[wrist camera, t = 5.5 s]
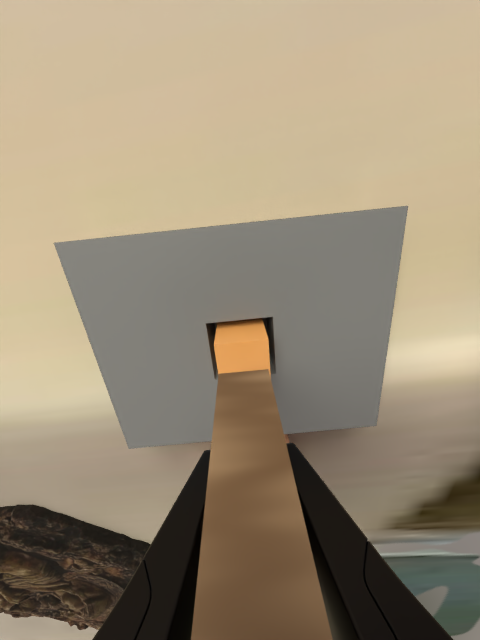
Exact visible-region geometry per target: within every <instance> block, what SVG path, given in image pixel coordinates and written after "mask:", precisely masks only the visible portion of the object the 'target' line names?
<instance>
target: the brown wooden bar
mask: <svg viewBox="0 0 480 640" xmlns="http://www.w3.org/2000/svg"><path fill="white" fill-rule="evenodd" d="M191 640H333V639H332V635H331V630H330V626H329V622H328V618H327V614H326V609H325V605H324V601H323V597H322V593H321V588H320V584H319V580H318V576H317V571H316V567H315V563H314V559H313V555H312V550H311V546H310V542H309V538H308V534H307V529H306V525H305V521H304V517H303V512H302V508H301V504H300V500H299V496H298V491H297V487H296V483H295V479H294V475H293V470H292V466H291V462H290V458H289V454H288V449H287V445H286V441H285V437H284V432H283V428H282V424H281V420H280V416H279V411H278V407H277V403H276V399H275V395H274V390H273V386H272V382H271V378H270V373H269V369H265V370H254V371H243V372H232V373H221V374H219V375H218V384H217V394H216V404H215V413H214V423H213V433H212V442H211V452H210V461H209V471H208V481H207V490H206V500H205V510H204V519H203V529H202V538H201V548H200V558H199V567H198V577H197V587H196V596H195V606H194V615H193V625H192V635H191Z"/></svg>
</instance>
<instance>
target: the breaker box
mask: <svg viewBox="0 0 480 640" xmlns="http://www.w3.org/2000/svg"><path fill="white" fill-rule="evenodd" d="M407 210H408V206H401V207H392V208H382V209H373V210H363V211H353V212H344V213H334V214H325V215H315V216H306V217H296V218H287V219H277V220H268V221H258V222H249V223H239V224H230V225H220V226H210V227H201V228H191V229H182V230H172V231H163V232H153V233H144V234H134V235H125V236H115V237H106V238H96V239H87V240H77V241H68V242H58V243H54V245H55V248H56V250H57V253H58V256H59V259H60V261H61V264H62V267H63V270H64V272H65V275H66V278H67V281H68V283H69V286H70V289H71V292H72V294H73V297H74V300H75V302H76V305H77V308H78V311H79V313H80V316H81V319H82V322H83V324H84V327H85V330H86V333H87V335H88V338H89V341H90V344H91V346H92V349H93V352H94V355H95V357H96V360H97V363H98V366H99V368H100V371H101V374H102V377H103V379H104V382H105V385H106V387H107V390H108V393H109V396H110V398H111V401H112V404H113V407H114V409H115V412H116V415H117V418H118V420H119V423H120V426H121V429H122V431H123V434H124V437H125V440H126V442H127V445H128V448H129V449H131V448H142V447H153V446H164V445H174V444H185V443H196V442H207V441H212V433H213V423H214V413H215V404H216V394H217V384H218V369H217V363H216V356H215V350H214V340H215V334H216V328H217V322H225V321H235V320H245V319H255V318H262V320H263V323H264V326H265V330H266V333H267V336H268V340H269V357H270V374H271V382H272V386H273V390H274V395H275V399H276V403H277V407H278V411H279V416H280V420H281V424H282V428H283V432H284V434H293V433H304V432H315V431H325V430H336V429H347V428H358V427H369V426H376V425H377V418H378V411H379V404H380V397H381V390H382V383H383V376H384V369H385V363H386V356H387V349H388V342H389V335H390V328H391V321H392V314H393V307H394V300H395V293H396V286H397V279H398V272H399V266H400V259H401V252H402V245H403V238H404V231H405V224H406V217H407Z"/></svg>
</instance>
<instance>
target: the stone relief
mask: <svg viewBox="0 0 480 640" xmlns="http://www.w3.org/2000/svg"><path fill="white" fill-rule="evenodd" d="M149 547H150V544H149V543H146V542H143V541H140V540H135V539H131V538H130V537H128V536H126V535H124V534H119V533H116V532H113V531H111V530H108V529H105V528H102V527H98V526H95V525H93V524H89V523H86V522H84V521H81V520H78V519H75V518H73V517H70V516H67V515H64V514H61V513H57V512H54V511H51V510H49V509H46V508H44V507H40V506H36V505H16V506H5V507H0V613H2V612H4V613H6V614H11V615H12V617H15V618H19V617H30V616H38V617H44V616H45V617H50V618H53V619H57V620H60V621H64V622H68V623H69V625H70V626H73V625H76V626H77V628H78V629H79V630H82V629H86V628H87V627H93V628H95V629H97V630H99V629H100V628H101V626H102V625H103V623H104V621H105V620H106V618H107V617H108V615H109V614H110V612H111V611H112V609H113V608H114V606H115V605H116V603H117V602H118V600H119V598H120V597H121V595H122V593H123V592H124V590H125V588H126V587H127V585H128V583H129V582H130V580H131V578H132V577H133V575H134V573H135V571H136V570H137V568H138V566H139V564H140V563H141V561H142V560H144V556H145V554H146V552H147V551H148V549H149Z"/></svg>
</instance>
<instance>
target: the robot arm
mask: <svg viewBox="0 0 480 640" xmlns="http://www.w3.org/2000/svg"><path fill="white" fill-rule="evenodd" d="M286 445H287V449H288V454H289V458H290V462H291V466H292V470H293V475H294V479H295V483H296V487H297V491H298V496H299V500H300V504H301V508H302V512H303V517H304V521H305V525H306V529H307V534H308V538H309V542H310V546H311V550H312V555H313V559H314V563H315V567H316V571H317V576H318V580H319V584H320V588H321V593H322V597H323V601H324V605H325V609H326V614H327V618H328V622H329V626H330V630H331V635H332V639H333V640H453V639H452V638H451V636H450V635H449V634H448V633H447V632H446V631H445V630H444V629H443V628H442V626H441V625H440V624H439V623H438V622H437V621H436V620H435V619H434V618H433V616H432V615H431V614H430V613H429V612H428V611H427V610H426V609H425V608H424V607H423V605H422V604H421V603H420V602H419V601H418V600H417V599H416V597H415V596H414V595H413V594H412V593H411V592H410V591H409V589H408V588H407V587H406V586H405V585H404V584H403V583H402V581H401V580H400V579H399V578H398V577H397V575H396V574H395V573H394V572H393V570H392V569H391V568H390V567H389V565H388V564H387V563H386V562H385V561H384V559H383V558H382V557H381V556H380V554H379V553H378V552H377V550H376V549H375V548H374V546H373V545H372V544H371V543H370V542H369V541H368V542H367V538H366V536H365V535H364V534H363V532H362V531H361V530H360V528H359V527H358V526H357V525H356V523H355V522H354V521H353V519H352V518H351V517H350V516H349V514H348V513H347V512H346V510H345V509H344V508H343V506H342V505H341V504H340V503H339V501H338V500H337V499H336V497H335V496H334V495H333V493H332V492H331V491H330V490H329V488H328V487H327V486H326V484H325V483H324V482H323V480H322V479H321V478H320V477H319V475H318V474H317V473H316V471H315V470H314V469H313V468H312V466H311V465H310V464H309V462H308V461H307V460H306V458H305V457H304V456H303V455H302V453H301V452H300V451H299V449H298V448H297V447H296V445H295V444H293V443H286ZM210 452H211V450H206V451H204V453H203V454H202V456H201V458H200V460H199V461H198V463H197V465H196V467H195V468H194V470H193V472H192V474H191V475H190V477H189V479H188V481H187V482H186V484H185V486H184V488H183V489H182V491H181V493H180V495H179V496H178V498H177V500H176V502H175V503H174V505H173V507H172V509H171V510H170V512H169V514H168V516H167V517H166V519H165V521H164V523H163V524H162V526H161V528H160V530H159V531H158V533H157V535H156V537H155V538H154V540H153V542H152V544H151V545H150V547H149V549H148V551H147V552H146V554H145V556H144V560H142V561H141V563H140V564H139V566H138V568H137V570H136V571H135V573H134V575H133V577H132V578H131V580H130V582H129V583H128V585H127V587H126V588H125V590H124V592H123V593H122V595H121V597H120V598H119V600H118V602H117V603H116V605H115V606H114V608H113V609H112V611H111V612H110V614H109V615H108V617H107V618H106V620H105V621H104V623H103V625H102V626H101V628H100V629H99V631H98V632H97V634H96V635H95V637H94V638H93V640H191V635H192V625H193V615H194V606H195V596H196V587H197V577H198V567H199V558H200V548H201V538H202V529H203V519H204V510H205V500H206V490H207V481H208V471H209V461H210Z"/></svg>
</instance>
